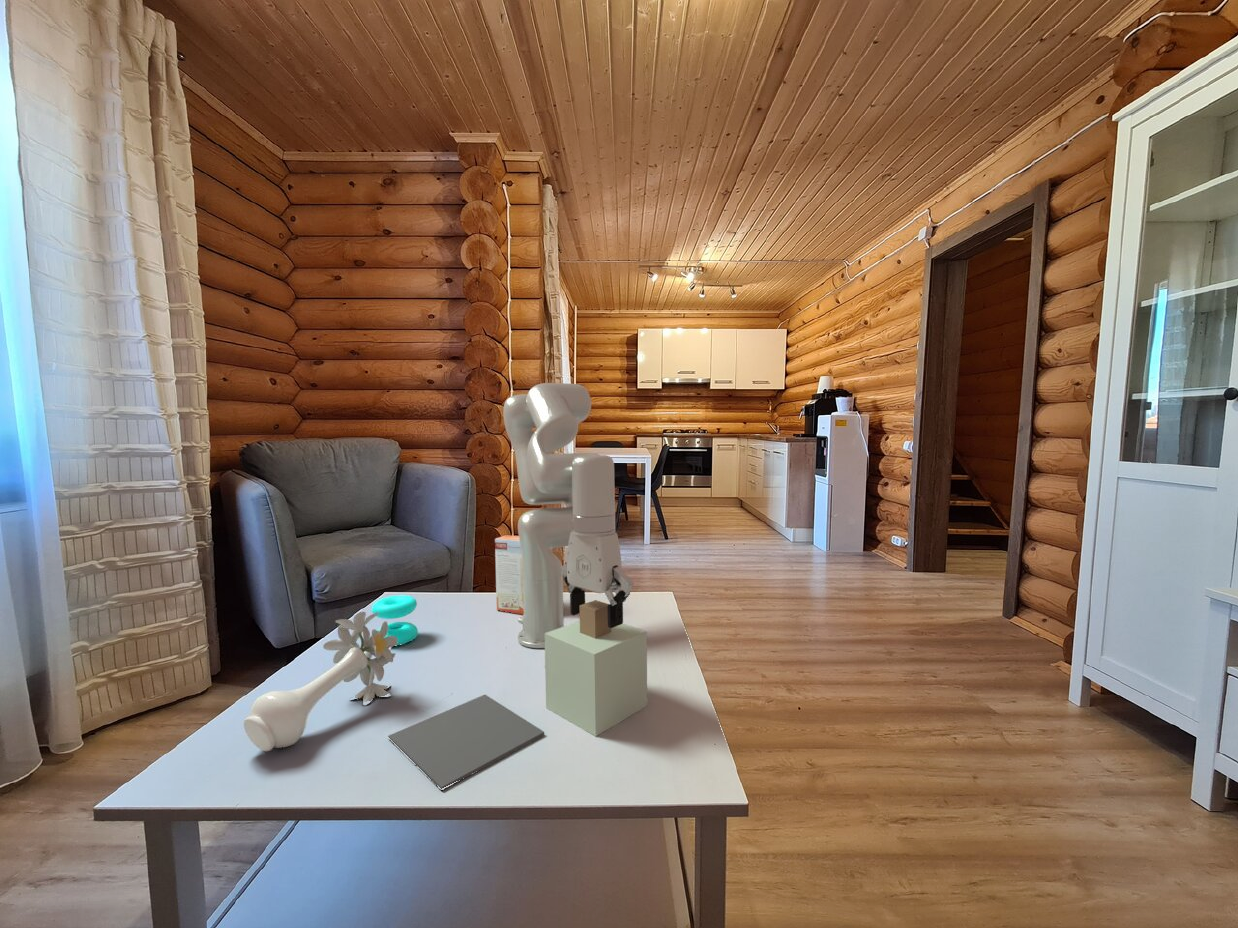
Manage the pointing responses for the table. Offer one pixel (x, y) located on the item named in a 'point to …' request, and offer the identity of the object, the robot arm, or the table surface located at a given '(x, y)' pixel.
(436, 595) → the table surface
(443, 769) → the mat
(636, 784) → the table surface
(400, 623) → the donuts
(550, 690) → the pale green block
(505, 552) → the cracker box
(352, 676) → the flower vase
